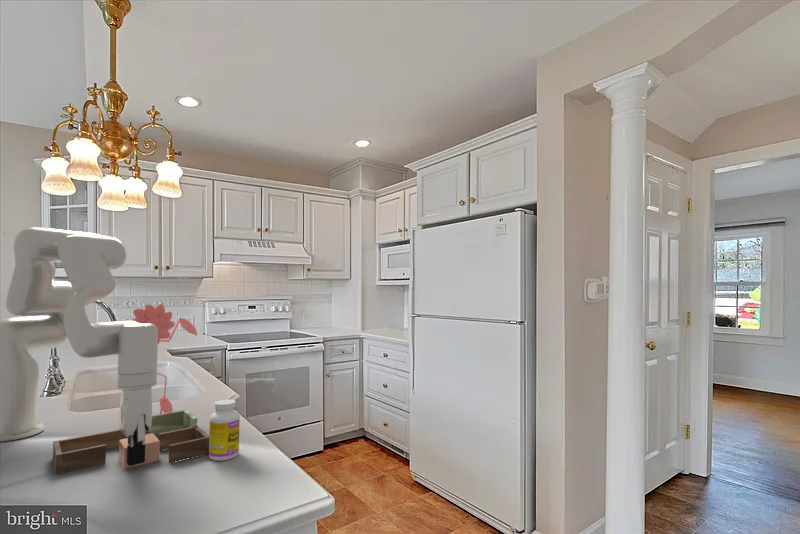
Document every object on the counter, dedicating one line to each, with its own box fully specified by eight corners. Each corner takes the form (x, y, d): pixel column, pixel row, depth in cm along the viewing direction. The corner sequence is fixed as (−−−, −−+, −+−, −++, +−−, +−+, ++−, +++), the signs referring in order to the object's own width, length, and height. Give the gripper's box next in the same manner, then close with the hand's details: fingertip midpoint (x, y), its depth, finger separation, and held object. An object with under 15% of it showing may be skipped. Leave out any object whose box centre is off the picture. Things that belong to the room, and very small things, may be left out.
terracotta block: (118, 459, 102) (119, 439, 103) (152, 451, 107) (152, 433, 107) (124, 468, 97) (124, 448, 97) (159, 460, 102) (159, 440, 102)
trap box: (52, 458, 102) (53, 432, 103) (185, 431, 121) (186, 409, 122) (58, 491, 87) (59, 460, 87) (210, 453, 106) (211, 428, 106)
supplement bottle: (228, 463, 100) (229, 406, 101) (202, 460, 102) (203, 404, 102) (244, 452, 107) (245, 399, 107) (220, 449, 108) (221, 397, 109)
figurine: (91, 426, 125) (96, 304, 126) (187, 409, 143) (191, 301, 144) (101, 442, 114) (106, 307, 115) (204, 421, 132) (207, 304, 132)
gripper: (112, 376, 101) (110, 457, 100) (123, 388, 89) (121, 479, 89) (149, 372, 105) (147, 449, 105) (164, 382, 94) (162, 469, 93)
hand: (135, 463), depth 97 cm, fingers closed
